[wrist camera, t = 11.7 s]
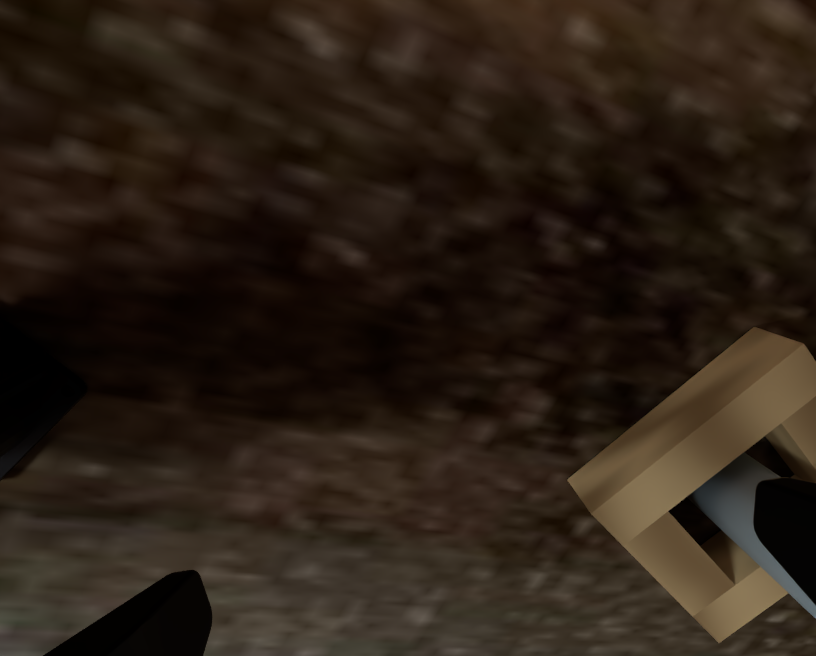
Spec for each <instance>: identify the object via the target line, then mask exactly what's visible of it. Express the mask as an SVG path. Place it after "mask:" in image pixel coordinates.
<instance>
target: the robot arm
mask: <svg viewBox="0 0 816 656" xmlns="http://www.w3.org/2000/svg"><path fill="white" fill-rule="evenodd" d="M67 386H70V387H72V388H73V389H74V393H71V392H69V390H68V389H67ZM86 390H87V387H86V384H85V383H84V381H83V380H82V379H80V378H79V377H78V376H77V375H75V374H74V373H73V372H71V371H70V370H69V369H67V368H66V367H65V366H63V365H62V364H61V363H60V362H58V361H57V360H56V359H54V358H53V357H52V356H50V355H49V354H48V353H46V352H45V351H44V349H43V348H41V347H40V346H39V345H38V344H36V343H35V342H34V341H32V340H31V339H30V338H28V337H27V336H26V335H24V334H23V333H22V332H20V331H19V330H18V329H17V328H15V327H14V326H13V325H11V324H10V323H9V322H7V321H6V320H5V319H3V318H2V317H1V316H0V481H1V480H2V479H3V478H4V477H5V476H6V475H7V473H8V472H9V471H10V470H11V469H12V468H13V467H14V466H15V465H16V464H17V463H18V462H19V461H20V460H21V459H22V458H23V457H24V456H25V455H26V454H27V453H28V452H29V451H30V450H31V449H32V448H33V447H34V446H35V445H36V444H37V443H38V442H39V441H40V440H41V439H42V438H43V437H44V436H45V435H46V434H47V433H48V432H49V431H50V430H51V429H52V428H53V427H54V426H55V425H56V424H57V423H58V422H59V421H60V420H61V418H62V417H63V416H64V415H65V414H66V413H67V412H68V411H69V410H70V409H71V408H72V407H73V406H74V405H75V404H76V403H77V402H78V401H79V400H80V399H81V398H82V397H83V396H84V395H85V393H86ZM753 526H754V530H755V533H756V535H757V537H758V539H759V540H760V542H761V543H762V544H763V546H764V547H765V548H766V549H767V550H768V551H769V553H770V554H771V555H772V556H773V557H774V558H775V559H776V561H777V562H778V563H779V564H780V565H781V566H782V567H783V569H784V570H785V571H786V572H787V573H788V574H789V576H790V577H791V578H792V579H793V580H794V581H795V582H796V584H797V585H798V586H799V587H800V588H801V589H802V590H803V592H804V593H805V594H806V595H807V596H808V597H809V599H810V600H811V601H812V602H813V603H814V604H815V605H816V483H813V482H808V481H803V480H798V479H793V478H787V477H780V478H774V479H767V480H762V481H760V482H759V483H758V484H757V486H756V491H755V503H754V515H753ZM211 626H212V610H211V606H210V603H209V600H208V597H207V594H206V591H205V588H204V586H203V583H202V580H201V577H200V575H199V573H198V572H197V571H195V570H187V571H181V572H174V573H171V574H169V575H167V576H165V577H164V578H162V579H161V580H159V581H157V582H156V583H154V584H153V585H151V586H150V587H148V588H147V589H145V590H144V591H142V592H141V593H139V594H137V595H136V596H134V597H133V598H131V599H130V600H128V601H127V602H125V603H124V604H122V605H120V606H119V607H117V608H116V609H114V610H113V611H111V612H110V613H108V614H107V615H105V616H104V617H102V618H100V619H99V620H97V621H96V622H94V623H93V624H91V625H90V626H88V627H87V628H85V629H83V630H82V631H80V632H79V633H77V634H76V635H74V636H73V637H71V638H70V639H68V640H67V641H65V642H63V643H62V644H60V645H59V646H57V647H56V648H54V649H53V650H51V651H50V652H48V653H46V654H45V655H43V656H203V654H204V651H205V647H206V644H207V641H208V637H209V634H210V630H211Z"/></svg>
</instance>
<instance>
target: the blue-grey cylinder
mask: <svg viewBox="0 0 816 656" xmlns="http://www.w3.org/2000/svg"><path fill="white" fill-rule="evenodd" d="M774 478H780V476H778V475H777V474H775V473H774V472H772V471H771V470H770V469H768V468H767V467H765V466H764V465H762V464H761V463H759V462H758V461H756V460H755V459H753V458H752V457H750V456H749V455H747V454H746V453H745V452H744V453H742V454H741V455H740V456H738V457H737V458H736V459H735V460H733V461H732V462H731V463H729V464H728V465H727V466H726V467H724V468H723V469H722V470H720V471H719V472H718V473H717V474H715V475H714V476H713V477H711V478H710V479H709V480H708V481H706V482H705V483H704V484H702V485H701V486H700V487H699V488H697V489H696V490H695V491H693V492H692V493H691V494H690V495H688V496H687V498H688V499H689V500H690V501H691V502H692V503H693V504H694V505H696V506H697V507H698V508H699V509H700V510H701V511H702V512H703V513H704V514H705V515H706V516H707V517H708V518H709V519H710V520H711V521H713V522H714V523H715V524H716V525H717V526H718V527H719V528H720V529H721V530H722V531H723V532H724V533H725V534H726V535H727V536H729V537H730V538H731V539H732V540H733V541H734V542H735V543H736V544H737V545H738V546H739V547H740V548H741V549H742V550H743V551H744V552H746V553H747V554H748V555H749V556H750V557H751V558H752V559H753V560H754V561H755V562H756V563H757V564H758V565H759V566H760V567H761V568H763V569H764V570H765V571H766V572H767V573H768V574H769V575H770V576H771V577H772V578H773V579H774V580H775V581H776V582H777V583H778V584H780V585H781V586H782V587H783V588H784V589H785V590H786V591H787V592H788V593H789V594H790V595H791V596H792V597H793V598H794V599H795V600H797V601H798V602H799V603H800V604H801V605H802V606H803V607H804V608H805V609H806V610H807V611H808V612H809V613H810V614H811V615H812V616H814V617H815V618H816V605H815V604H814V603H813V602H812V601H811V600H810V599H809V597H808V596H807V595H806V594H805V593H804V592H803V590H802V589H801V588H800V587H799V586H798V585H797V584H796V582H795V581H794V580H793V579H792V578H791V577H790V576H789V574H788V573H787V572H786V571H785V570H784V569H783V567H782V566H781V565H780V564H779V563H778V562H777V561H776V559H775V558H774V557H773V556H772V555H771V554H770V553H769V551H768V550H767V549H766V548H765V547H764V546H763V544H762V543H761V542H760V540H759V539H758V537H757V535H756V533H755V530H754V526H753V515H754V503H755V491H756V486H757V484H758V483H759V482H760V481H762V480H767V479H774Z"/></svg>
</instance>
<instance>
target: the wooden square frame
mask: <svg viewBox="0 0 816 656" xmlns="http://www.w3.org/2000/svg"><path fill="white" fill-rule="evenodd" d="M764 436H765V437H766V438H767V439H768V441H769V442H770V443H771V445H772V446H773V447H774V449H775V450H776V451H777V453H778V454H779V455H780V456H781V458H782V459H783V460H784V462H785V463H786V464H787V466H788V467H789V468H790V470H791V471H792V472H793V474H794V475H793V476H792V477H790V478H793V479H798V480H803V481H808V482H813V483H816V361H815V360H814V358H813V357H812V355H811V354H810V352H809V351H808V349H807V348H806V346H805V345H804V344H803V343H800V342H798V341H795V340H792V339H789V338H786V337H783V336H780V335H777V334H774V333H771V332H768V331H765V330H762V329H759V328H757V327H753V328H752V329H751V330H749V331H748V332H747V333H746V334H744V335H743V336H742V337H741V338H740V339H738V340H737V341H736V342H735V343H733V344H732V345H731V346H730V347H729V348H727V349H726V350H725V351H724V352H722V353H721V354H720V355H719V356H718V357H716V358H715V359H714V360H713V361H711V362H710V363H709V364H708V365H707V366H705V367H704V368H703V369H702V370H700V371H699V372H698V373H697V374H696V375H694V376H693V377H692V378H691V379H689V380H688V381H687V382H686V383H685V384H683V385H682V386H681V387H680V388H678V389H677V390H676V391H675V392H674V393H672V394H671V395H670V396H669V397H667V398H666V399H665V400H664V401H662V402H661V403H660V404H659V405H658V406H656V407H655V408H654V409H653V410H651V411H650V412H649V413H648V414H647V415H645V416H644V417H643V418H642V419H640V420H639V421H638V422H637V423H636V424H634V425H633V426H632V427H631V428H629V429H628V430H627V431H626V432H625V433H623V434H622V435H621V436H620V437H618V438H617V439H616V440H615V441H614V442H612V443H611V444H610V445H609V446H607V447H606V448H605V449H604V450H603V451H601V452H600V453H599V454H598V455H596V456H595V457H594V458H593V459H592V460H590V461H589V462H588V463H587V464H585V465H584V466H583V467H582V468H581V469H579V470H578V471H577V472H576V473H574V474H573V475H572V476H571V477H570V478H568V479H567V480H568V482H569V483H570V485H571V486H572V487H573V489H574V490H575V492H576V493H577V494H578V496H579V497H580V499H581V500H582V501H583V503H584V504H585V506H586V507H587V509H588V510H589V511H590V513H591V514H592V515H593V516H594V517H595V518H596V519H597V520H598V521H599V522H600V523H601V524H602V525H603V526H604V527H605V528H606V529H607V530H608V531H609V532H610V533H611V534H612V535H613V536H614V537H615V538H616V539H617V540H618V541H619V542H620V543H621V544H622V545H623V546H624V547H625V548H626V549H627V550H628V551H629V552H630V553H631V555H632V556H633V557H634V558H635V559H636V560H637V561H638V562H639V563H640V564H641V565H642V566H643V567H644V568H645V569H646V570H647V571H648V572H649V573H650V574H651V575H652V576H653V577H654V578H655V579H656V580H657V581H658V582H659V583H660V584H661V585H662V586H663V587H664V588H665V589H666V590H667V591H668V592H669V593H670V594H671V595H672V596H673V597H674V598H675V599H676V600H677V601H678V602H679V603H680V604H681V605H682V606H683V607H684V608H685V609H686V610H687V611H688V612H689V613H690V614H691V615H692V616H693V617H694V618H695V619H696V620H697V621H698V622H699V623H700V624H701V625H702V626H703V627H704V628H705V629H706V630H707V631H708V633H709V634H710V635H711V636H712V637H713V638H714V639H715V640H716V641H717V642H718V643H720V642H721V641H723V640H724V639H725V638H727V637H728V636H730V635H731V634H732V633H734V632H735V631H736V630H738V629H739V628H741V627H742V626H743V625H745V624H746V623H748V622H749V621H750V620H752V619H753V618H754V617H756V616H757V615H759V614H760V613H761V612H763V611H764V610H766V609H767V608H768V607H770V606H771V605H772V604H774V603H775V602H777V601H778V600H779V599H781V598H782V597H784V596H785V595H786V594H788V592H787V591H786V590H785V589H784V588H783V587H782V586H781V585H780V584H778V583H777V582H776V581H775V580H774V579H773V578H772V577H771V576H770V575H769V574H768V573H767V572H766V571H765V570H764V569H763V568H761V567H760V566H759V565H758V564H757V563H756V562H755V561H754V560H753V559H752V558H751V557H750V556H749V555H748V554H747V553H746V552H744V551H743V550H742V549H741V548H740V547H739V546H738V545H737V544H736V543H735V542H734V541H733V540H732V539H731V538H730V537H729V536H727V535H726V534H725V533H724V532H723V531H722V530H721V531H719V532H718V533H717V534H715V535H714V536H713V537H711V538H710V539H709V540H707V541H706V542H705V543H703V544H702V545H701V546H699V545H698V544H697V543H696V541H695V540H694V539H693V538H692V537H691V536H690V535H689V534H688V533H687V532H686V530H685V529H684V528H683V527H682V526H681V525H680V524H679V523H678V522H677V521H676V519H675V518H674V517H673V516H672V515H671V514H670V513H669V512H668V511H669V510H670V509H672V508H673V507H674V506H675V505H677V504H678V503H679V502H681V501H682V500H683V499H684V498H686V497H687V496H688V495H690V494H691V493H692V492H693V491H695V490H696V489H697V488H699V487H700V486H701V485H702V484H704V483H705V482H706V481H708V480H709V479H710V478H711V477H713V476H714V475H715V474H717V473H718V472H719V471H720V470H722V469H723V468H724V467H726V466H727V465H728V464H729V463H731V462H732V461H733V460H735V459H736V458H737V457H738V456H740V455H741V454H742V453H744V452H745V451H746V450H747V449H749V448H750V447H751V446H753V445H754V444H755V443H756V442H758V441H759V440H760V439H762V438H763V437H764Z"/></svg>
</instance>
